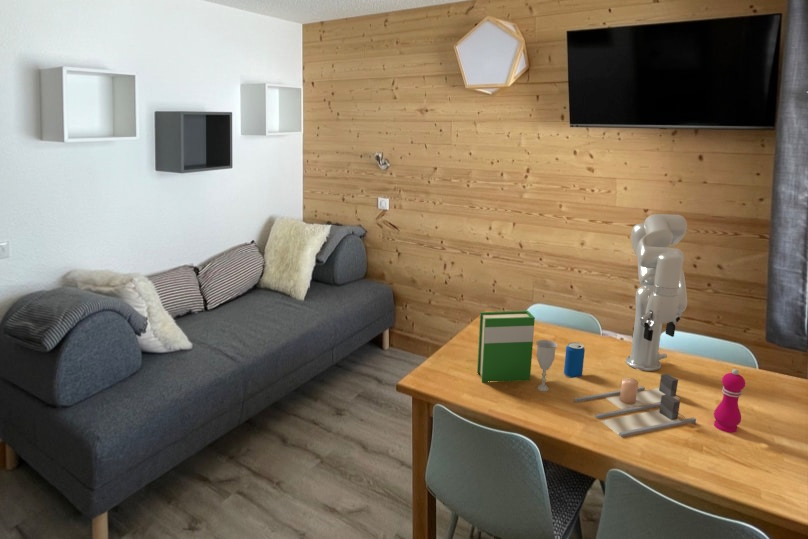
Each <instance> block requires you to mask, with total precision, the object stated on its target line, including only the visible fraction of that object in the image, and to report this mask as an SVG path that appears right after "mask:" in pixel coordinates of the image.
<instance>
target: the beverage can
mask: <svg viewBox="0 0 808 539" xmlns="http://www.w3.org/2000/svg"><path fill="white" fill-rule="evenodd" d="M585 350H586V349H585V346H584V344H583V343H580V342H573V341H572V342H569V343H567V345H566V347H565V356H564V367H563V374H564V375H565V376H566V377H567V378H569V379H575V378H579V377H582V376H583V372H584V371H583V370H584V360H585V352H586V351H585Z"/></svg>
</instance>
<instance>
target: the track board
mask: <svg viewBox="0 0 808 539" xmlns="http://www.w3.org/2000/svg"><path fill="white" fill-rule="evenodd" d="M645 390H646V389H645V386H642V385H641V386H638V389H637V392H639V391H645ZM620 392H621V389H620V390H614V391H610V392H609V391H608V392H603V393H599V394H598V393H597V394H591V395H586V396H581V397H574V398H573V401H574V402H575V403H580V402H584V401H591V400H595V399H596V400H597V399H601V398H606V397H611V396H617V395H620ZM660 404H661V402H659V403H658V402H657V403H652V404H646V405H641V406H636V407H630V408H625V409H617V410H611V411H606V412H601V413H597V414H595V416H594V418H596V419H597V420H598V419H603V418H607V417H612V416H613V417H614V416H618V415H623V414H627V413H629V414H630V413H633V412H639V411H644V410H649V409H654V408H660ZM678 415H679V416H680V417H681V418H683V419H679V420H678V421H673V422H668V423H664V424H659V425H654V426H649V427H644V428H639V429H634V430H629V431H625V432H620V433H619V435H618V436H619V437H620V438H624V437H627V436H633V435H638V434H642V433H648V432H652V431H657V430H658V431H659V430H662V429H667V428H672V427H676V426H682V425H687V424H693V425H697V423H696V422H697V418H696V417H689V418H688V417H686V416H684V415H682V414H681V413H679V412H678Z"/></svg>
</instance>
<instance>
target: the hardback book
mask: <svg viewBox="0 0 808 539" xmlns="http://www.w3.org/2000/svg"><path fill="white" fill-rule="evenodd" d="M535 319H536V318H535V316H534V315H533V314H532V313H531V312H530V311H529V310H511V311H510V310H509V311H508V310H507V311H504V310H502V311H480V312H479V327H478V328H479V330H478V331H479V332H478V348H477V350H478V352H477V353H478V354H477V366H476V367H477V368H476V369H477V372H476V373H478V374H479V375H480V376H481V383H491V382H490V381H504V382H521V381H531V372H532V358H533V345H534V333H535V332H534V331H535V322H536V320H535ZM478 374H477V375H478ZM488 381H489V382H488Z"/></svg>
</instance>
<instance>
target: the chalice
mask: <svg viewBox="0 0 808 539" xmlns="http://www.w3.org/2000/svg"><path fill="white" fill-rule="evenodd" d="M536 345H537V347H536V359H537V362H538V364H539V367H540V369H541V370H542V373H541V376H542V377H541V384H539V385H538V386H537V390H538V391H539V392H540V391H541V392H547V391H549V387H548V385H547V384H545V383H546V381H547V379H546V376H547V372H546V371H547V370H549V369H550V368H551V366H552V365H553V363H554V361H555V357H556V348H557V347H558V344H557V343H556V342H555V341H553V340H548V339H539V340H537V341H536Z"/></svg>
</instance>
